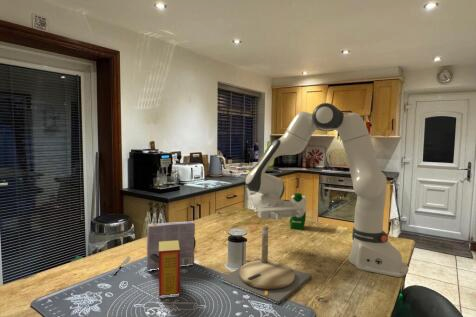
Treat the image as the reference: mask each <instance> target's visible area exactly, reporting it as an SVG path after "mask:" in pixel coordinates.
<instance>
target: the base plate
mask: <svg viewBox="0 0 476 317" xmlns="http://www.w3.org/2000/svg"><path fill="white" fill-rule="evenodd" d="M259 260H262V258H259V257H258V258H256V259H254V260H253V261H259ZM240 268H241V267H240ZM240 268H238V269H236V270H234V271H232V272H229V273H228V274H227V275H224V276H223V277H221V278H220V280H221V279H222V280H224V281H227V282H229V283H231V284H234V285H237V286H239V287H242V288H244V289H247V290H249V291H251V292H253V293H256V294H258V295H260V296H263V297H265V298H267V299H270V300H272V301H274V302H276V303H279V302H281V301H282V300H283V299H285V298H286V299H288V297H290V296H291V295H292V294H293V293H295V291H297V290H298V289H299V288H301V286H303V285H304V284H306V282H308V281H309V280H310V279H311V278H312V274H309V273H306V272H303V271H300V270H297V269H295V268H292V269H293V271H294V273H295V277H294V281H293V283H292V284H290V285H288V286H286V287H283V288H278V289H262V288H257V287H253V286H250V285H248V284H246V283H245V282H243V281H242V280H241V278H240ZM286 299H285V300H286ZM283 301H284V300H283ZM283 301H282V302H283ZM282 302H281V303H282Z"/></svg>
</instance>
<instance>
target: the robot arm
mask: <svg viewBox="0 0 476 317" xmlns="http://www.w3.org/2000/svg"><path fill="white" fill-rule="evenodd" d="M315 131H322V132H333V131H336V132H337V133H338V134H339V136H340V139H341V140H340V141H341V142H342V145H343V148H344V152H345V155H346V159H347V162H348V167H349V173H350V178H351V182H352V187H353V191H354V193H355V194H356V195H357V197H356V204H355V207H354V220H353V221H354V223H353V224H354V225H353V227H352V232H351V233H352V235H351V237H352V244H351V245H352V246H351V249H350V250H351V251H350V253H349V257H348V261H349V262H350V264H352V265H354V266H355V267H356V269H358V270H360V271H365V272H371V273H376V274H381V275H385V276H390V277H396V278H401V277H404V276H406V275H407V274H408V272H409V266H408V265H407V264H406V263H405V262H403V257H402V253H401V252H400V250H399V249H398V248H396V247H395V246H394V245H392V244H391V243H390V242H389V240H388V239H389V232H387V233H386V232H385V231H384V215H385V214H384V213H385V206H386V196H387V188H388V180H387V176H386V175H385V174H384V172H382V171H381V170H380V169H379V168H380V167H379V164H378V159H377V154H376V151H375V148H374V144H373V141H372V139H371V135H370V133H369V130H368V127H367V126H366V123H365V121H364V120H363V118H362V116H361V115H360V114H359V113H356V112H348V113H346V114H345V113H344V112H343V111H341V110H340V109H339V108H338V107H337V106H335V105H334V104H332V103H328V102H323V103H320V104H318V105H317V106H315V108H314V109H313V111H312V113H310V112H307V111H299V112H298V113H297V114H296V115H295V116H294V117H293V118H292V120H291V121H290V123H289V124H288V126H287V129H286V130H285V132H284V133H283V135H282V136H281V137H280V138H278V139H274V140H273V141H272V142H270V144H269V145H268V146H267V148H266V150H265V151H264V153H263V154H262V155H261V156H260V158H259V159H258V161H257V162H256V163H255V165H254V167H253V168H252V169H251V170H250V171H249V172H248V173H247V175H246V177H245V180H244V181H245V182H244V183H245V186H246V188H247V189H248V190H249V191H250V192H252V193H253V192H254V193H255V194H254V195H253V197H252V206H253V207H254V208H255V209H253V212H254V213H256V216H257V217H258V218H259V219H260V220H281V219H282V218H290V217H295V216H296V217H298V218H300V217H301V216H303V214H304V208H303V207H302V206H300V205H298V204H296V203H292V201H291V199H283V196H284V194H285V182H284V181H283V179H282V178H280V177H277V176H275V175H272V174H269V173H266V171H267V169H268V168H269V166H270V165H271V163H273V161H274V159H276V158H277V157H280V156H293V155H297V154H301V153H302V152H304V151H305V148H306V147H307V145H308V143H309V141H310V139H311V137H312V135H313V134H314V132H315Z"/></svg>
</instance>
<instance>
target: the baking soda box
mask: <svg viewBox="0 0 476 317" xmlns="http://www.w3.org/2000/svg"><path fill="white" fill-rule="evenodd" d="M180 272H181V267H180V248H179V242H178V240H173V241H159V270H158V296H161V295H170V294H178V293H180V294H181V291H180V290H181V289H180V288H181V287H180V286H181V285H180V283H181V274H180Z"/></svg>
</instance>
